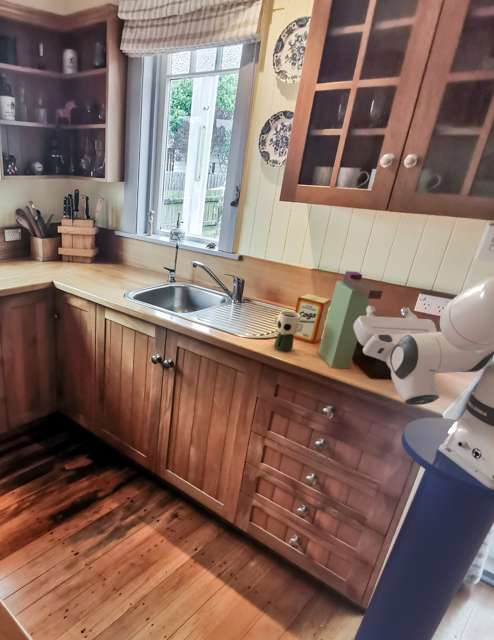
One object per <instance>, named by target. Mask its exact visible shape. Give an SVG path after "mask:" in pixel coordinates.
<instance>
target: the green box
mask: <svg viewBox="0 0 494 640" xmlns="http://www.w3.org/2000/svg"><path fill="white" fill-rule="evenodd" d="M369 302H370V299H369V298H367V297H365V296H364V295H362V294H360V293H359V292H357V291H356V290H354V289H353V288H351V287H350V286H348V285H347V284H345V283H344V282H343V280H336V282H335V286H334V290H333V294H332V298H331V301H330V305H329V307H330V309H329V313H328V317H327V321H326V325H325V328H324V329H323V333H322V337H321V340H320V344H319V348H318V354H319V355H320V357H321V358H322V359H323V360H324V361H325V362H326V363H327V364H328V365H329V367H330V368H339V369H350V367H351V363H352V362H353V361H352V357H353V354H354V350H355V347H356V344H357V340H358V339H357V337H356V334H355V331H354V328H353V325H354V323H355V321H356V320H357V319H358V317H359V316H366V314H367V311H366V308H367V307H368V306H369Z"/></svg>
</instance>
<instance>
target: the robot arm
mask: <svg viewBox="0 0 494 640" xmlns="http://www.w3.org/2000/svg"><path fill="white" fill-rule="evenodd" d="M375 312H376V308H375V306H374V305H368V306H367V308H366V314H365V316H359V317H358V319H357V320H356V321H355V323H354V325H353V328H354V331H355V334H356V337H357V339H358V341H359V343H360V344H361V345H363V346H364V348H363V353H364V354H365V355H368V356H371V357H374V358H377V359H380V360H382V361H385V362H386V363H387V365H388V367H389V368H390V369H391V377H392V383H393V385H394V388H395V390H396V392H397V394H398V396H399V398H400V399H401V401H402V402H403V403H404V404H406V405H409V406H418V405H419V406H420V405H421V406H422V405H427V404H431V403H434V402H435V401H437V400H438V399H439V398H440V391H439V385H438V382H437V378H436V375H437V374H446V373H476V372H479V371H481V370H482V369H483V368H484V369H483V371H482V374H481V376H480V379H479V380H478V383H477V385H476V387H475V390H474V391H473V392H471V394H470V396H469V397H468V398H467V402H466V404H465V411H464V412H463V414H461V416H460V417H459V418H458V419H457V420H458V421H457V422H456V423H455V424H454V425H453V426H452V428H451V429H450V430H449V432H448V433H450V434H449V436H448V437H447V438H446V439H445V440H444V443H443V444H441V445H440V447H439V448H438V449H439V451H440V452H442V453H443V454H444V455H446V456H447V457H448V458H450V459H451V460H452V461H454V462H455V463H456V464H457V465H459V466H460V467H461V468H463V469H464V470H465V471H467V472H468V473H469V474H471V475H472V476H473V477H475V478H476V479H477V480H478V481H480V482H481V483H482V484H484V485H485V486H486V487H488V488H490V489H493V490H494V360H492V361H491V362H490V360H491V358H492V357H493V356H494V274H493V275H490V276H488V277H485V278H484V279H481V280H479V281H477V282H476V283H474V284H472V285H470V286H469V287H467V288H466V289H464V290H463V291H461V292H460V293H459V294H458V295H456V296H455V297H453V298H452V299H451V300H450V301H449V302H448V303H447V304H446V305H445V307H444V308H443V310H442V311H441V314H440V317H439V327H440V331H437V328H436V324H435V322H434V321H432V320H431V319H430V318H429V319H428V318H418V316H417V315H415V314H414V313H413V312H412V311H411V309H410V308H409V307H402V308H401V309H400V311H399V312H400V314H401V317H391V316H376V315H375V314H374V313H375ZM489 362H490V363H489Z"/></svg>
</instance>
